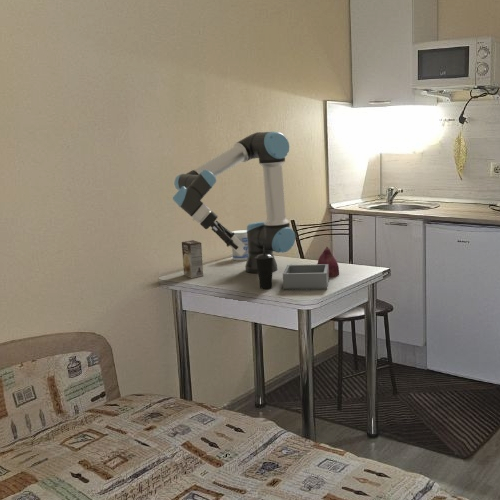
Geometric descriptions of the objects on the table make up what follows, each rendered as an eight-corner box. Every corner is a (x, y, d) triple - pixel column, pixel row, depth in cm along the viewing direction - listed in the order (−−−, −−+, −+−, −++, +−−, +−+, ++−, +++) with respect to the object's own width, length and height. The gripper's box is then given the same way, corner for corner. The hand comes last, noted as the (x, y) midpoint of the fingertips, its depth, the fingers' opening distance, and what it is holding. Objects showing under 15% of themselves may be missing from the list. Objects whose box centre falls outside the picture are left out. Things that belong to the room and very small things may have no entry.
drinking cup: (256, 286, 299) (253, 240, 295) (273, 285, 300) (271, 239, 296) (257, 290, 291) (255, 243, 288) (276, 289, 292) (273, 242, 288)
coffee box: (183, 275, 330) (180, 241, 327) (195, 273, 333) (193, 239, 330) (191, 278, 322) (189, 244, 319) (204, 276, 326) (201, 242, 323)
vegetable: (337, 284, 309) (340, 253, 302) (314, 281, 311) (316, 251, 304) (339, 273, 318) (342, 243, 312) (317, 270, 320) (319, 241, 314)
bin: (287, 280, 307) (287, 265, 306) (329, 279, 304) (328, 264, 303) (283, 290, 289) (282, 274, 288) (327, 289, 286) (326, 273, 285)
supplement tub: (247, 261, 354) (245, 233, 351) (229, 261, 357) (228, 232, 355) (253, 257, 363) (252, 229, 360) (236, 257, 366) (235, 229, 364)
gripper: (200, 219, 302) (237, 251, 305) (197, 228, 277) (237, 262, 280) (212, 206, 301) (248, 239, 304) (209, 214, 276) (249, 249, 279)
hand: (243, 250), depth 292 cm, fingers open, 13 cm apart
